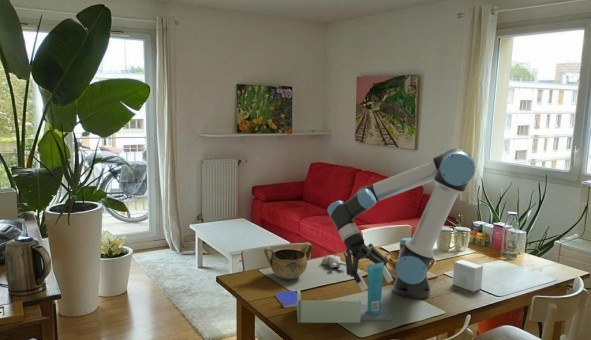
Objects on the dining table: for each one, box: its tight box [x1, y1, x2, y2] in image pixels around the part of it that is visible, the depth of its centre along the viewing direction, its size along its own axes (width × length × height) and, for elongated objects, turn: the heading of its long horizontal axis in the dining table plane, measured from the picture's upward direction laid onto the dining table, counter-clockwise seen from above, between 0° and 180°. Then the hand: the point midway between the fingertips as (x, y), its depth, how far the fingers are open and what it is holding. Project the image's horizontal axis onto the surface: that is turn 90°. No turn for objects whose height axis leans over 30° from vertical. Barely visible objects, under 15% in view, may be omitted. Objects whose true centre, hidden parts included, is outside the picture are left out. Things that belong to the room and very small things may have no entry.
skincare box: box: [452, 259, 484, 292], centre depth 206 cm, size 10×6×10 cm, turn 37°
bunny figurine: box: [321, 254, 346, 269], centre depth 229 cm, size 10×5×15 cm
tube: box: [366, 262, 384, 314], centre depth 178 cm, size 7×5×19 cm, turn 122°
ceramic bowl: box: [263, 241, 314, 280], centre depth 213 cm, size 22×17×15 cm
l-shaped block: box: [296, 288, 362, 324], centre depth 177 cm, size 23×11×8 cm, turn 91°
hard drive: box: [275, 290, 303, 309], centre depth 191 cm, size 2×8×12 cm
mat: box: [360, 304, 394, 322], centre depth 180 cm, size 12×12×1 cm
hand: (378, 285), depth 177 cm, fingers open, 13 cm apart
